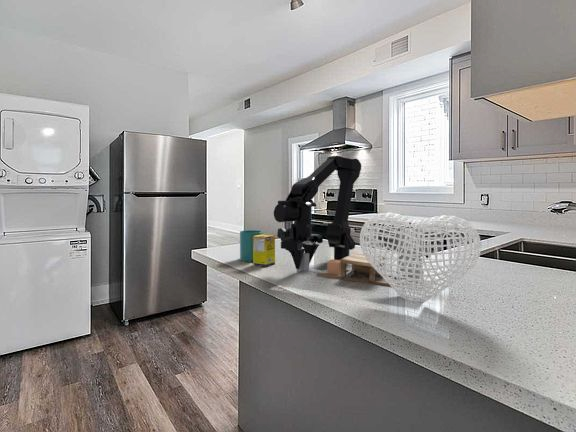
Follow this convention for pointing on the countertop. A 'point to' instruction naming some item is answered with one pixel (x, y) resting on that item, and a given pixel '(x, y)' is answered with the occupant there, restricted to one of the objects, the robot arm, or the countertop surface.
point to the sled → (305, 267)
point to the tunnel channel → (358, 270)
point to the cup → (247, 244)
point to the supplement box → (264, 250)
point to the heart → (440, 219)
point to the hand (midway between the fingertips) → (302, 266)
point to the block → (334, 267)
